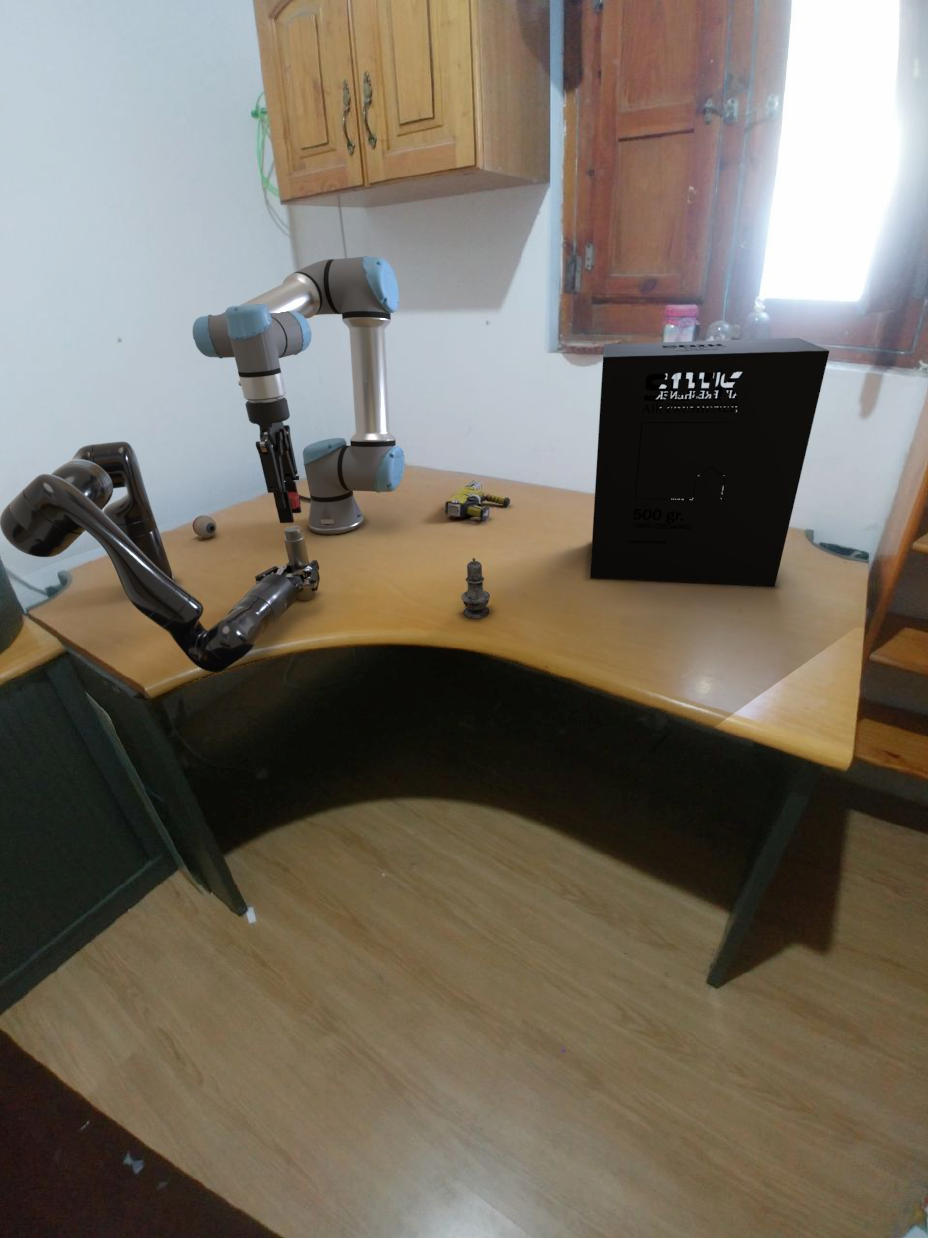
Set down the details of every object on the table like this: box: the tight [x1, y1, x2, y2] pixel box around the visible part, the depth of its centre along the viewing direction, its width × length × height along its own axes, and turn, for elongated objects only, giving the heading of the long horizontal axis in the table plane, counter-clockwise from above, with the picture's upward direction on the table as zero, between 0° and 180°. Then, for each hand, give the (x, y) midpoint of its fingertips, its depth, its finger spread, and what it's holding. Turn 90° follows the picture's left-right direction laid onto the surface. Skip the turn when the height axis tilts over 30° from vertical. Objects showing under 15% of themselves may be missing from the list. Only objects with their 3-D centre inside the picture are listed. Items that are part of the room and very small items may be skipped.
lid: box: [274, 492, 301, 509], centre depth 122 cm, size 5×5×2 cm
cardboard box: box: [589, 337, 830, 587], centre depth 126 cm, size 38×20×45 cm, turn 78°
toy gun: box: [444, 480, 511, 521], centre depth 175 cm, size 5×24×15 cm
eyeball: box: [192, 514, 217, 538], centre depth 165 cm, size 6×6×6 cm
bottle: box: [283, 525, 317, 602], centre depth 128 cm, size 4×4×16 cm
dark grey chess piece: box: [460, 557, 491, 619], centre depth 119 cm, size 6×6×12 cm
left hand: (305, 563), depth 131 cm, fingers closed on bottle, 4 cm apart
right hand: (291, 517), depth 123 cm, fingers closed on lid, 5 cm apart
